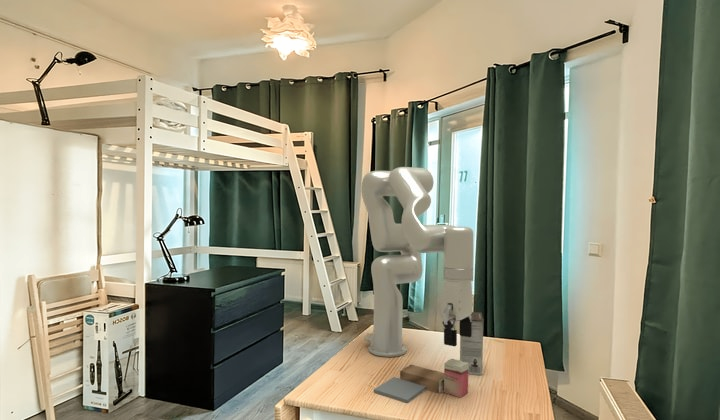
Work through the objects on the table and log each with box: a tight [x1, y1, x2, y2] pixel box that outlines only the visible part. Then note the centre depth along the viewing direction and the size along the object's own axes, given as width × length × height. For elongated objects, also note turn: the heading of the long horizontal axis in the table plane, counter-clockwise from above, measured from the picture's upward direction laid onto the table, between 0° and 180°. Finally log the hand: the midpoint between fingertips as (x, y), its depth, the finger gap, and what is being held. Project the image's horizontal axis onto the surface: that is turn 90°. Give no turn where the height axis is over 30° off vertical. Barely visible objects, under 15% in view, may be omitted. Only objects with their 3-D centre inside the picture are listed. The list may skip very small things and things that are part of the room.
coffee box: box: [459, 311, 484, 376], centre depth 130 cm, size 9×6×16 cm
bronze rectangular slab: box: [399, 364, 444, 394], centre depth 119 cm, size 12×6×3 cm, turn 54°
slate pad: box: [373, 376, 427, 404], centre depth 114 cm, size 10×10×1 cm
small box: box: [443, 358, 469, 398], centre depth 113 cm, size 5×4×8 cm
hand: (458, 340), depth 113 cm, fingers open, 9 cm apart
